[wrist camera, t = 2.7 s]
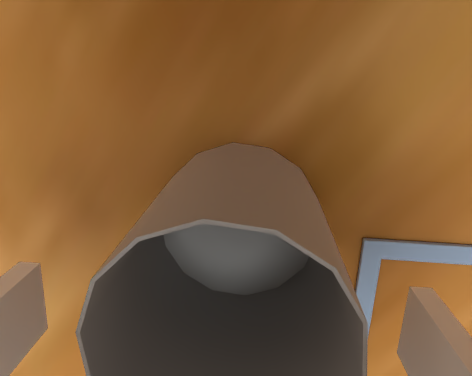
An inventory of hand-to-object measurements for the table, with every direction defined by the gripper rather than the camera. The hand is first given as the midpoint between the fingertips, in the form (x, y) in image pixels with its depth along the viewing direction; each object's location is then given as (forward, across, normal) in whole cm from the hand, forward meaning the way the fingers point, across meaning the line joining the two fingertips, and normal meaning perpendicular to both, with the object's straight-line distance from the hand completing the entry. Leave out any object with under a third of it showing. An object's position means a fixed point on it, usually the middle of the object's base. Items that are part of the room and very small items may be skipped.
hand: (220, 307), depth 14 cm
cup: (+7, 0, 0) cm, 7 cm away
